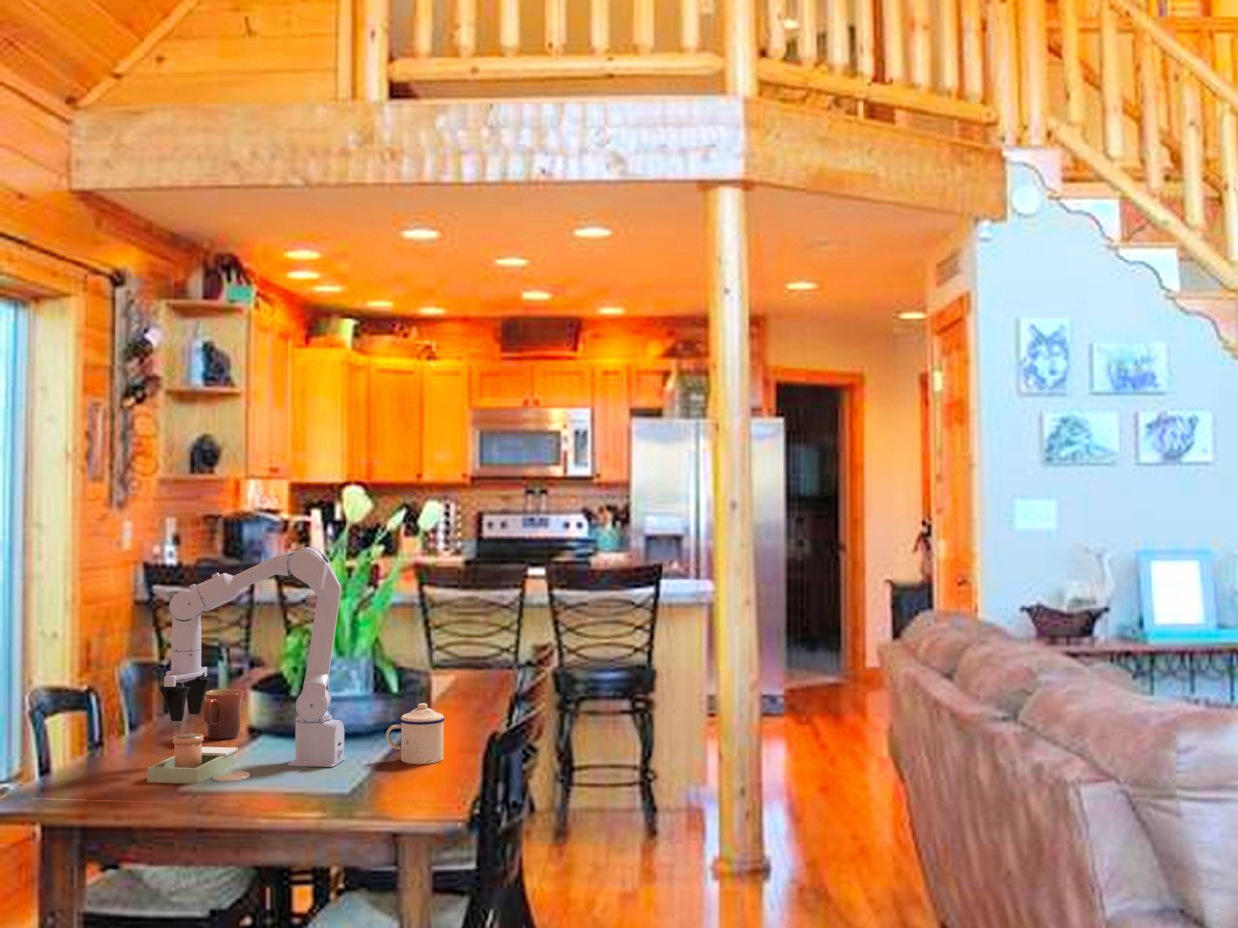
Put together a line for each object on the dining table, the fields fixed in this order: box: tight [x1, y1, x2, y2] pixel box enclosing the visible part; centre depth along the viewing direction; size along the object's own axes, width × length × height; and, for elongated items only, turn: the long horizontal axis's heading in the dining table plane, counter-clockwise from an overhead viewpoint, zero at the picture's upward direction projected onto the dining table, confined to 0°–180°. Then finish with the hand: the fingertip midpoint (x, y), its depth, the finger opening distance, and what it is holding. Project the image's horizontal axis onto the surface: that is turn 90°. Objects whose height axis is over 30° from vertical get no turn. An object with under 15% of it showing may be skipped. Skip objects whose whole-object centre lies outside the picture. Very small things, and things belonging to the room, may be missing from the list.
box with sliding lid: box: [146, 746, 239, 784], centre depth 243 cm, size 11×18×4 cm, turn 174°
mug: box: [203, 688, 245, 741], centre depth 279 cm, size 12×9×10 cm
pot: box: [172, 733, 204, 768], centre depth 241 cm, size 6×6×8 cm
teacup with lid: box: [385, 702, 446, 765], centre depth 256 cm, size 12×9×12 cm
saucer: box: [211, 770, 251, 782], centre depth 240 cm, size 7×7×1 cm
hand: (185, 717), depth 250 cm, fingers open, 7 cm apart
